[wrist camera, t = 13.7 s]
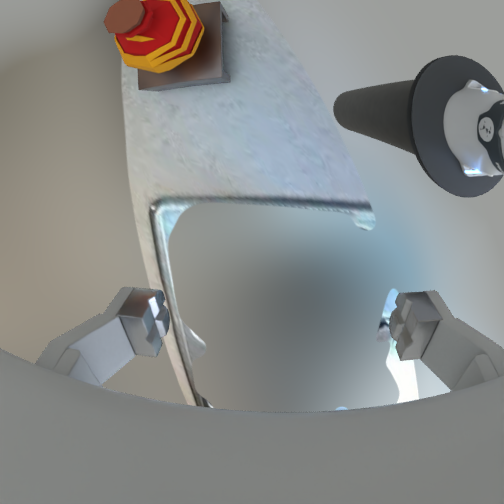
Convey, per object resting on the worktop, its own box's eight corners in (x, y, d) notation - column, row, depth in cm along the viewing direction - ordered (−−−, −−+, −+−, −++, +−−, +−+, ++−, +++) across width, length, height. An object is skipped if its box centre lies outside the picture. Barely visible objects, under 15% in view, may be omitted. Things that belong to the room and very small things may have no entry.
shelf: (228, 15, 31) (219, 1, 25) (230, 82, 37) (222, 77, 31) (156, 27, 32) (137, 18, 26) (157, 91, 38) (138, 90, 32)
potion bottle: (129, 54, 29) (62, 41, 16) (176, 0, 25) (127, -40, 12) (180, 91, 32) (124, 86, 19) (232, 36, 28) (204, -5, 15)
